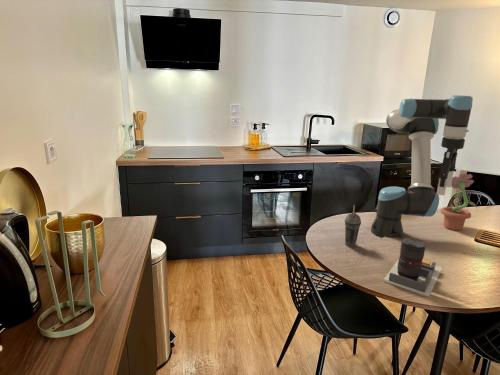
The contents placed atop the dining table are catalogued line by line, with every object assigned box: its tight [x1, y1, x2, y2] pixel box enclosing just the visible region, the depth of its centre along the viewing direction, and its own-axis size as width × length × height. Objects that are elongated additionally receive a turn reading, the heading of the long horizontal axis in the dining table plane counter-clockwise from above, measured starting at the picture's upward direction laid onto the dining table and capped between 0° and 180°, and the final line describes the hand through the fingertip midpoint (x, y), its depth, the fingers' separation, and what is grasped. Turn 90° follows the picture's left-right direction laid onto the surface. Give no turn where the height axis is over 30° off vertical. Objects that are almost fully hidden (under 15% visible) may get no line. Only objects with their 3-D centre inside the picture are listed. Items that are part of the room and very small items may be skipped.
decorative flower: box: [440, 173, 477, 231], centre depth 178 cm, size 15×14×30 cm
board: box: [383, 258, 443, 298], centre depth 136 cm, size 16×24×4 cm, turn 143°
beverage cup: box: [344, 204, 362, 248], centre depth 158 cm, size 7×7×20 cm
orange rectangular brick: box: [422, 258, 432, 266], centre depth 141 cm, size 8×3×3 cm, turn 53°
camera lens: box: [398, 237, 426, 281], centre depth 130 cm, size 8×8×15 cm
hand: (443, 190), depth 138 cm, fingers open, 13 cm apart
